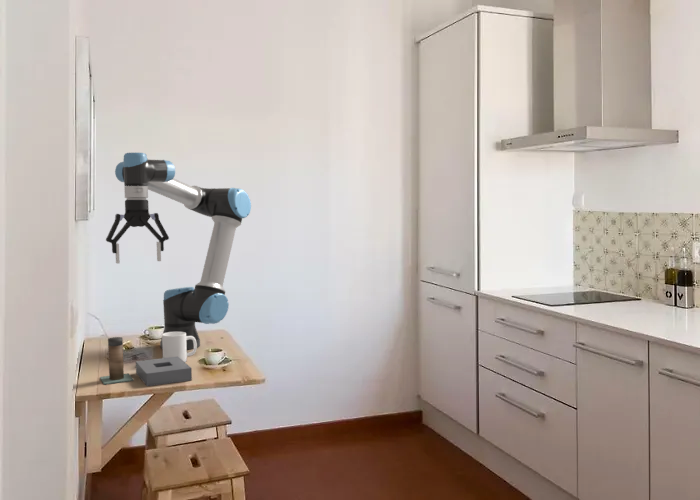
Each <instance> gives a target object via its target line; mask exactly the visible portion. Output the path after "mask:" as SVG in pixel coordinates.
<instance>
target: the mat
mask: <svg viewBox="0 0 700 500" xmlns="http://www.w3.org/2000/svg"><path fill="white" fill-rule="evenodd" d="M99 379H100V381H101V382H102V384H103V385H104V386H106V385H111V384H113V385H114V384H120V383H126V382H127V383H129V382H134V381H135V379H134V378H133V377H132V375H130V373H127V372H126V373H124V378H123V379H120V380H110V379H109V375H105V376H104V375H103V376H99Z"/></svg>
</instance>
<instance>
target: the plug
mask: <svg viewBox="0 0 700 500" xmlns="http://www.w3.org/2000/svg"><path fill="white" fill-rule="evenodd" d="M123 341H124V339H123V337H122V336H115V337H109V338H108V339H107V344H108V345H107V347H108V348H107V349H108V373H109V374H108V376H109V379H110V380H120V379H123V378H124V374H125V370H124V345H123V344H124V343H123Z"/></svg>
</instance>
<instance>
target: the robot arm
mask: <svg viewBox="0 0 700 500" xmlns="http://www.w3.org/2000/svg"><path fill="white" fill-rule="evenodd" d="M114 173H115V177H116V179H117V180H118V181H119V182H121V183H124V186H123V187H124V189H123V190H124V198H125V201H124V214H120V213H116V214H115V217H114V222H113V224H112V225H111V228H110V230H109V232H108V234H107V236H106V237H105V241H106V242H107V243H111V252H112V254H115V263H116V264H120V260H121V259H120V244H119V243H118V241H120V239H121V238H122V236H124V234H125V233H126V232H127V230H128V229H129V228H130V227H132V228H137V227H141V228H143V227H145V228H146V229H147V230H149V232H150V233H151V234H152V235H153V236H154V237H155V238H156V239H157V241H156V261H157V262H162V252H164V250H165V249H164V248H165V247H164V242H165V241H168V240H170V237H169V235H168V233H167V231H166V230H165V228H164V226H163V224H162V222H161V220H160V217H159V213H158V212H153V213H150V211H149V209H150V208H149V199H148V198H149V191H150V192H154V193H155V194H159V195H161V196H163V197H166V198H167V199H169V200H170V199H171V200H173V201H176V202H178V203H180V204H182V205H184V207H185V208H186V209H188V210H190V211H193V212H195V213H197V214H200V215H203V216H206V217H209V218H211V220H212V222H213V228H212V230H211V232H212V233H211V236H210V240H209V244H208V248H207V252H206V256H205V260H204V266H203V270H202V273H201V278H200V281H199V282H198V283H196V284H195V285H194V287H193V286H186V287H185V286H184V287H179V288H178V287H177V288H172V289H171V288H170V289H167V290H165V291H164V292H163V300H162V301H163V319H164V320H163V321H164V322H163V323H164V324H163V325H164V328H163V333H162V334H164V333H167V332H185V333H186V336H193V337H194V338H195V339H196V342H197V348H198V347H200V346H201V339H200V336H199V334H198V333H199V332H198V331H197V328H196V323H199V324H205V325H210V324H212V325H214V324H215V325H216V324H218V323H220V322H221V321H223V320H224V319H225V317H226V315H227V313H228V311H229V305H230V304H229V302H228V301H229V300H228V297H227V296H226V290H225V288H224V283H225V278H226V277H225V276H226V274H227V273H226V272H227V268H228V265H229V259H230V255H231V251H232V247H233V243H234V239H235V233H236V231H237V228H238V227H240V226H241V225H242V221H243V219H245V218H248V216H250V214H251V210H252V203H251V199H250V197H249V195H248V193H247V192H246V191H245V190H244V189H242V188H240V187H239V188H236V187H230V188H227V187H226V188H225V187H224V188H220V187H219V188H208V187H207V188H203V187H200V186H198V185H189V184H187V183H185V182H183V181H180V180H178V179H175V176H176V167H175V165H174V163H173V162H172V161H170V160H165V159H148V156H147V154H146V152H126V153H124V154H123V161H121V162H119V163H117V165H116V167H115V171H114ZM150 218H151V220H152V221H154V223H155V225H156V227H157V228H158V230H159V232H160V233H161V234H159V233H158V231H157V230H156V229H155V228H154V227H153V226H152V225H151V224H150V223H149V220H150ZM123 219H124V220H125V221H126V223H125V224H124V225H123V227H122V228H121V229H120V230H119V231H118V233H117V234H115V232H116V231H117V228H118V226H119V224H120V222H121V221H123ZM114 235H115V236H114ZM159 343H160V349H161V350H163V348H162V337H161V340H160V342H159ZM186 345H187V351H188V350H192V349H194V343H193V340H192V339H189V340H186Z"/></svg>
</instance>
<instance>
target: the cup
mask: <svg viewBox="0 0 700 500" xmlns="http://www.w3.org/2000/svg"><path fill="white" fill-rule="evenodd" d="M161 338H162V348H163V349H162V358H169V357H177V356H178V357H179V358H180V359H181V360H183V361H184V362H185V363H186V362H187V360H188V359H187V358H188V357H191V356H193V355H194V354H195V353H196V351H197V348H198V347H197V342H196V339H195V338H194V337H193V336H186V333H185V332H167V333H164V334H163V333H162V334H161ZM189 339H192V340H193V343H194V348H193V350H192V351H190V352H187V351H188V350H187V345H186V340H189Z"/></svg>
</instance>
